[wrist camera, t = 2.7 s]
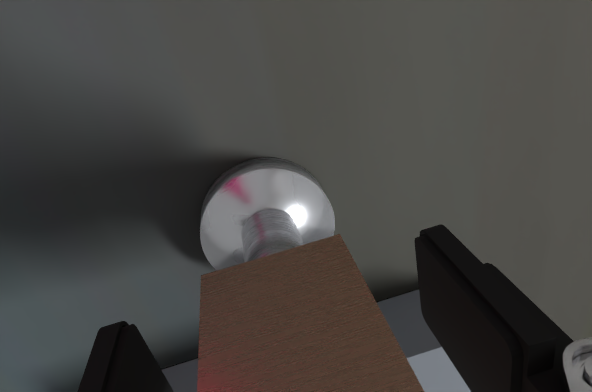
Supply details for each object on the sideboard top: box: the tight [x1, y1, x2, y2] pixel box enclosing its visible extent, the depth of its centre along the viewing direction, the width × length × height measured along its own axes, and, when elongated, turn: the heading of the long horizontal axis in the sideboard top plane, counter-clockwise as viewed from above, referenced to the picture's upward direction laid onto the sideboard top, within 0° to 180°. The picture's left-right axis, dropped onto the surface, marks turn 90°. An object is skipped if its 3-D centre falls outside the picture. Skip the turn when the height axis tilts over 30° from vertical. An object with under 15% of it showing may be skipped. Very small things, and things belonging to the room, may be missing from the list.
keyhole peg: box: [197, 158, 424, 392], centre depth 10 cm, size 5×5×11 cm
